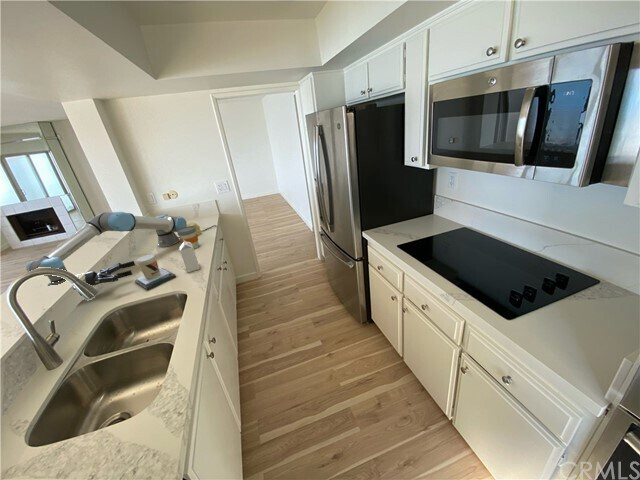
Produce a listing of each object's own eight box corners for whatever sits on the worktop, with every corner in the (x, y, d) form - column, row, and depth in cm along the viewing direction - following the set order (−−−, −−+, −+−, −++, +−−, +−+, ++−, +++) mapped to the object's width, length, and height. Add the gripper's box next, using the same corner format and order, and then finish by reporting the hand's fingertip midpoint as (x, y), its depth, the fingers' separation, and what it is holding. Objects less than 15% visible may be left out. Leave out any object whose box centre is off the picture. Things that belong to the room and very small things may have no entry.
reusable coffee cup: (184, 252, 191) (177, 233, 185) (182, 247, 201) (175, 229, 195) (202, 247, 196) (196, 228, 190) (199, 242, 206) (193, 224, 200)
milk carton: (187, 272, 161) (177, 244, 153) (187, 268, 167) (177, 240, 159) (199, 269, 164) (190, 241, 156) (199, 264, 170) (190, 237, 162)
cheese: (202, 233, 225) (198, 222, 221) (192, 238, 217) (188, 227, 213) (193, 233, 230) (190, 222, 226) (183, 237, 221) (179, 226, 217)
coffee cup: (153, 280, 152) (145, 261, 147) (140, 279, 154) (132, 261, 149) (165, 271, 160) (158, 253, 155) (152, 271, 162) (145, 254, 157)
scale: (162, 270, 168) (161, 266, 167) (176, 277, 157) (174, 273, 156) (135, 282, 157) (133, 278, 156) (147, 290, 146) (146, 286, 145)
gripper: (96, 276, 154) (137, 264, 163) (84, 296, 133) (132, 282, 142) (90, 265, 151) (133, 254, 160) (77, 284, 131) (127, 270, 139)
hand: (133, 267), depth 151 cm, fingers open, 13 cm apart
